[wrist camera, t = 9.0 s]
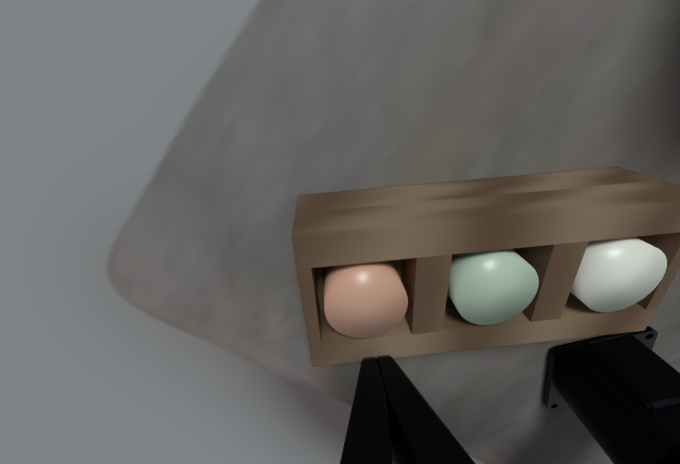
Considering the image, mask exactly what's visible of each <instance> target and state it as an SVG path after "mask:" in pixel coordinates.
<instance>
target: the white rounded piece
mask: <svg viewBox="0 0 680 464" xmlns="http://www.w3.org/2000/svg"><path fill="white" fill-rule="evenodd" d="M666 268H667V259H666V256H665V254H664V253H663V252H662V251H661V250H660V249H658V248H656V247H654V246H652V245H650V244H648V243H646V242H644V241H642V240H640V239H638V238H636V237H626V238H616V239H606V240H595V241H589V242H588V245H587V248H586V250H585V253H584V256H583V258H582V261H581V264H580V267H579V269H578V272H577V275H576V277H575V280H574V283H573V286H572V288H571V291H570V292H571V293H572V294H573V295H574V296H576V297H577V298H578V299H579V300H580V301H582V302H583V303H584V304H585V305H586V306H588V307H589V308H590V309H592V310H594V311H598V312H613V311H618V310H621V309H624V308H627V307H629V306H631V305H633V304H635V303H637V302H639V301H640V300H642V299H643V298H645V297H646V296H647V295H648V294H650V293H651V292H652V291H653V290H654V289H655V288H656V287H657V285H658V284H659V283H660V281H661V280H662V278H663V276H664V274H665V272H666Z"/></svg>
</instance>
